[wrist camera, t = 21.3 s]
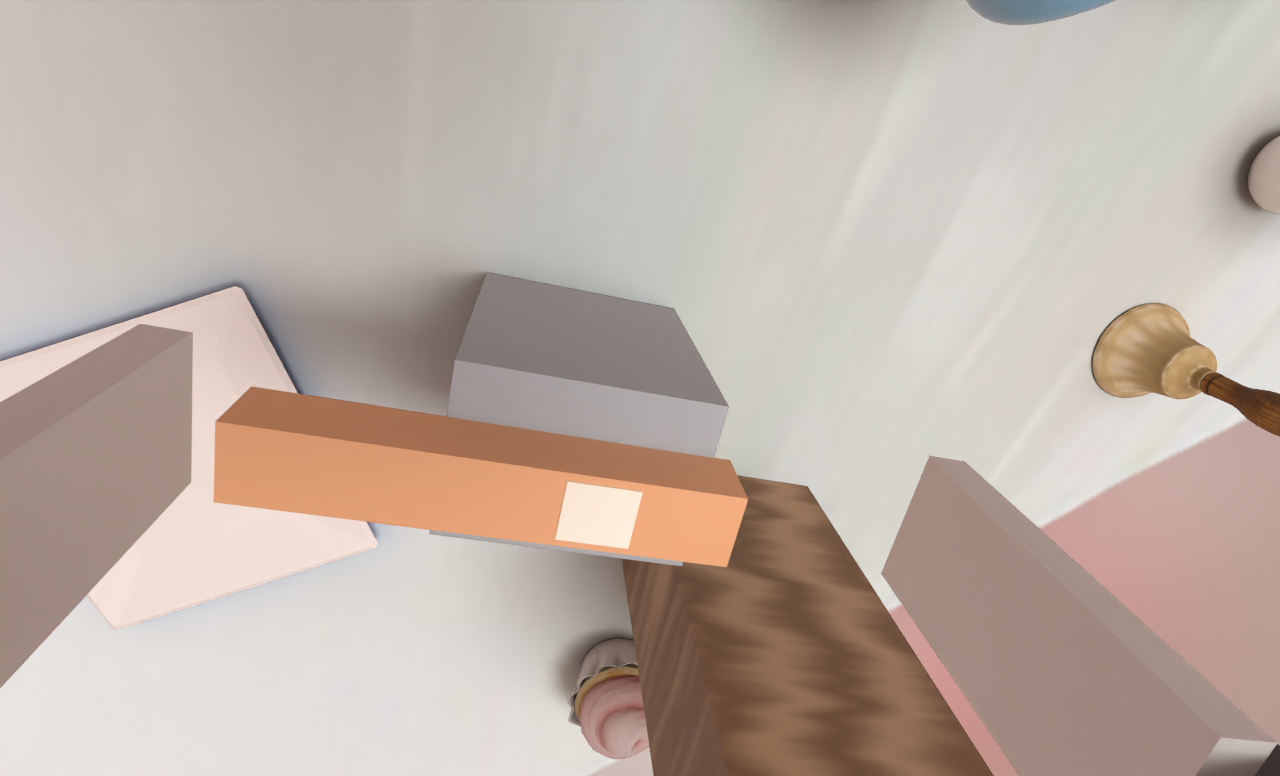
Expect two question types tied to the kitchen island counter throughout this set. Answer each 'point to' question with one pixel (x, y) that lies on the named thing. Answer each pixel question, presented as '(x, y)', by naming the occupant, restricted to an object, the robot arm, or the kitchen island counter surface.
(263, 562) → the plate
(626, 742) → the cupcake
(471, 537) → the grey rectangular block
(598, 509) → the bar
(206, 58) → the kitchen island counter surface
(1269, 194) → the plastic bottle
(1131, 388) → the hand bell
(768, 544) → the tall wooden block
